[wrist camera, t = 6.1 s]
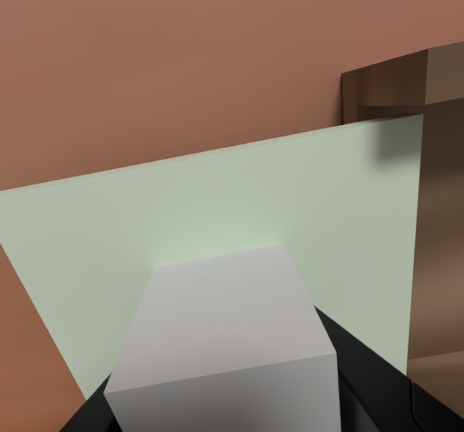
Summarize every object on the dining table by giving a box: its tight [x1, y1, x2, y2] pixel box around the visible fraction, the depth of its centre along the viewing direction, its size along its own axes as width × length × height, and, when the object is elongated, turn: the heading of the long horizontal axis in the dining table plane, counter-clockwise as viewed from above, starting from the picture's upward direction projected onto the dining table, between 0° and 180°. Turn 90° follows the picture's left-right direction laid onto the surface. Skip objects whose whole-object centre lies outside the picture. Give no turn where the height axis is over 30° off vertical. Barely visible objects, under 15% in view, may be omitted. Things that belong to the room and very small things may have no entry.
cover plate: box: [0, 113, 423, 432], centre depth 8 cm, size 10×12×5 cm
